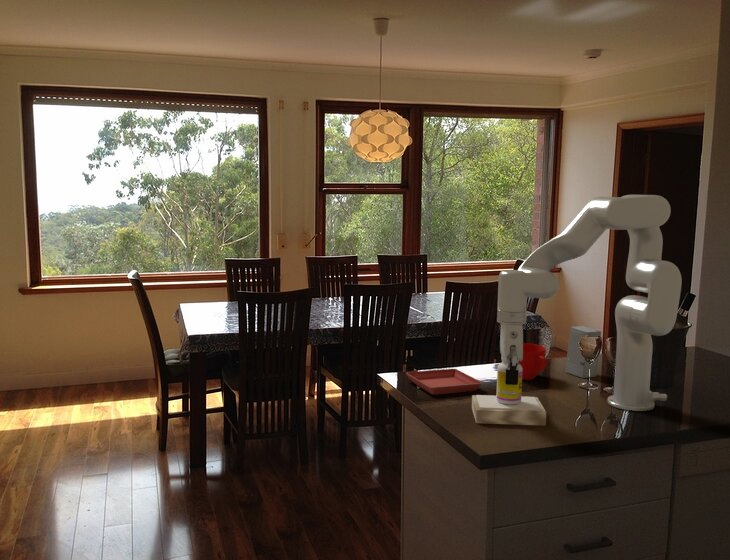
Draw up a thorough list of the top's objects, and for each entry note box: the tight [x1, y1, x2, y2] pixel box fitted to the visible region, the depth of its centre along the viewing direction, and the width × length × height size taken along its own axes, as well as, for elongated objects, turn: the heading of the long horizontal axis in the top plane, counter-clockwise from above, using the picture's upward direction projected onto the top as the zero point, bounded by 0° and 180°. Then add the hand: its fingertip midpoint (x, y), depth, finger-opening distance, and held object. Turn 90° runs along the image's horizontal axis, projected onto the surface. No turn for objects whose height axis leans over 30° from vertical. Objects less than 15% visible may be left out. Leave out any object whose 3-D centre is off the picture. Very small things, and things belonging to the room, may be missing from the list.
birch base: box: [471, 394, 547, 426], centre depth 186 cm, size 18×13×4 cm
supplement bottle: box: [495, 356, 523, 405], centre depth 185 cm, size 7×7×13 cm
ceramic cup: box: [518, 342, 548, 381], centre depth 223 cm, size 13×17×10 cm
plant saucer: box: [405, 368, 483, 396], centre depth 213 cm, size 18×18×3 cm
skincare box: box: [564, 325, 602, 379], centre depth 228 cm, size 8×7×16 cm
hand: (508, 379), depth 185 cm, fingers open, 9 cm apart
